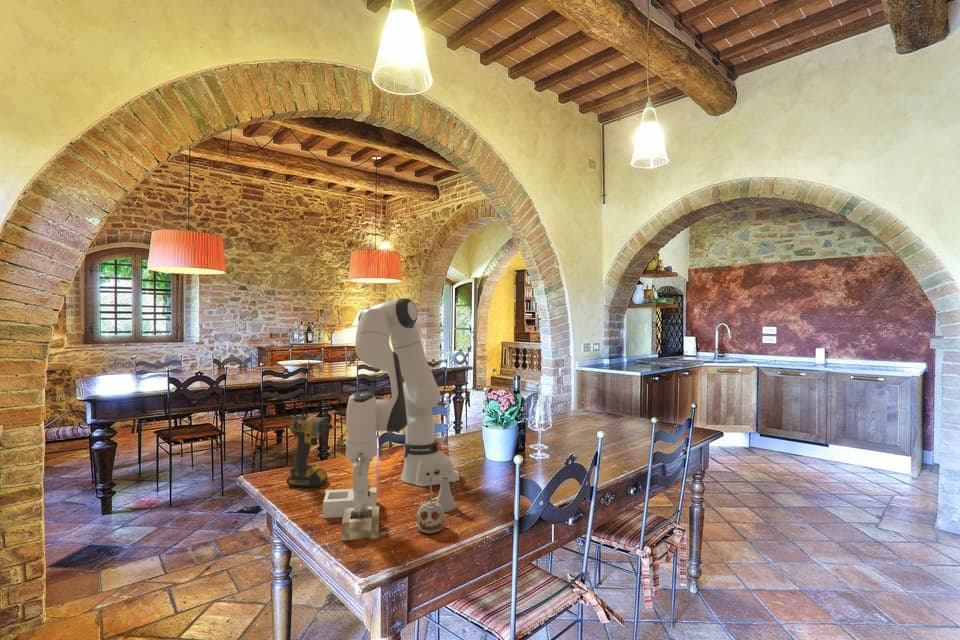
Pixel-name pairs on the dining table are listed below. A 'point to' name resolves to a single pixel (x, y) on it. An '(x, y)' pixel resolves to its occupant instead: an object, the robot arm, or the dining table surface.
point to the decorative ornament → (430, 515)
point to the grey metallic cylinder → (361, 506)
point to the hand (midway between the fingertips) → (361, 496)
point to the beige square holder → (360, 525)
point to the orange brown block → (369, 485)
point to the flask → (445, 496)
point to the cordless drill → (307, 450)
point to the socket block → (343, 501)
